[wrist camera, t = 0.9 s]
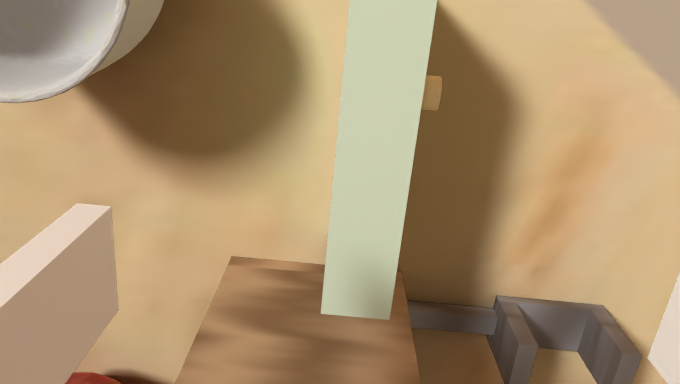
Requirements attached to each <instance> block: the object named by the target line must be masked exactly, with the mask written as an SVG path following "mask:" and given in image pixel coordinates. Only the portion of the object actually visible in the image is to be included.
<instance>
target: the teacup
mask: <svg viewBox="0 0 680 384" xmlns="http://www.w3.org/2000/svg"><path fill="white" fill-rule="evenodd" d="M163 3H164V0H0V102H3V103H23V102H33V101H39V100H43V99H47V98H51V97H53V96H56V95H59V94H61V93H64V92H66V91H68V90H70V89H71V88H73V87H75V86H77V85H79V84H80V83H81V82H82V81H84V80H85V79H87V78H88V77H89V76H90V75H92V74H94V73H96V72H98V71H100V70H102V69H104V68H106V67H107V66H109V65H111V64H112V63H114V62H116V61H117V60H119V59H120V58H122V57H124V56H125V55H126V54H127V53H129V52H130V51H131V50H132V49H133V48H135V47H136V46H137V45H138V44H139V43H140V42H141V41H142V40H143V38H144V37H145V36H146V35H147V33H148V32H149V31H150V30H151V28H152V26H153V24H154V23H155V21H156V19H157V18H158V15H159V13H160V11H161V9H162V6H163Z"/></svg>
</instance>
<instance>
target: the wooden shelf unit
mask: <svg viewBox="0 0 680 384" xmlns="http://www.w3.org/2000/svg"><path fill="white" fill-rule="evenodd" d="M324 272H325V265H320V264H309V263H298V262H287V261H276V260H265V259H255V258H244V257H233V256H232V257H231V259H230V262H229V264H228V266H227V268H226V271H225V273H224V275H223V277H222V279H221V282H220V284H219V286H218V288H217V291H216V293H215V295H214V297H213V300H212V302H211V304H210V306H209V309H208V311H207V313H206V315H205V318H204V320H203V322H202V324H201V326H200V329H199V331H198V333H197V335H196V338H195V340H194V342H193V344H192V347H191V349H190V351H189V353H188V356H187V358H186V360H185V362H184V365H183V367H182V369H181V371H180V373H179V376H178V378H177V380H176V382H175V384H421V381H420V375H419V369H418V363H417V357H416V351H415V346H414V340H413V334H412V328H421V329H432V330H443V331H454V332H465V333H476V334H487V339H488V342H489V344H490V347H491V350H492V352H493V355H494V358H495V360H496V363H497V365H498V368H499V371H500V373H501V376H502V379H503V381H504V384H528V382H529V378H530V375H531V371H532V367H533V364H534V360H535V357H536V353H537V349H538V348H546V349H557V350H569V351H577V352H578V353H579V355H580V356H581V358H582V360H583V361H584V363H585V365H586V366H587V368H588V369H589V371H590V373H591V374H592V376H593V378H594V379H595V381H596V382H597V384H632V382H633V379H634V376H635V374H636V371H637V368H638V365H639V363H640V360H641V357H642V355H641V353H640V352H639V351H638V350H637V348H636V347H635V346H634V344H633V343H632V342H631V341H630V339H629V338H628V337H627V336H626V334H625V333H624V332H623V330H622V329H621V328H620V327H619V325H618V324H617V323H616V322H615V320H614V319H613V318H612V316H611V315H610V314H609V313H608V311H607V310H606V309H605V307H604V306H603V305H595V304H584V303H573V302H562V301H551V300H540V299H529V298H518V297H507V296H496V299H495V304H494V308H484V307H473V306H462V305H451V304H440V303H429V302H418V301H407V299H406V293H405V288H404V282H403V276H402V272H397V273H396V280H395V286H394V293H393V300H392V306H391V313H390V320H384V319H373V318H362V317H351V316H340V315H329V314H321V305H322V294H323V283H324Z"/></svg>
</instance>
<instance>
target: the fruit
mask: <svg viewBox="0 0 680 384" xmlns="http://www.w3.org/2000/svg"><path fill="white" fill-rule="evenodd" d="M65 384H121V383H120V382H118V381H117V380H115V379H112V378H109V377H106V376H103V375H100V374H96V373H72V375H71V376H70V377H69V379H68V380H67V382H66V383H65Z"/></svg>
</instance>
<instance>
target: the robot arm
mask: <svg viewBox="0 0 680 384" xmlns="http://www.w3.org/2000/svg"><path fill="white" fill-rule="evenodd" d="M118 310H119V309H118V295H117V281H116V267H115V253H114V239H113V224H112V210H111V206H100V205H90V204H79V203H77V204H76V205H75V206H73V207H72V208H71V209H69V210H68V211H67V212H66V213H64V214H63V215H62V216H61V217H59V218H58V219H57V220H56V221H54V222H53V223H52V224H50V225H49V226H48V227H47V228H45V229H44V230H43V231H42V232H40V233H39V234H38V235H36V236H35V237H34V238H33V239H31V240H30V241H29V242H28V243H26V244H25V245H24V246H23V247H21V248H20V249H19V250H17V251H16V252H15V253H14V254H12V255H11V256H10V257H9V258H7V259H6V260H5V261H4V262H2V263H1V264H0V384H65V383H66V382H67V380H68V379H69V377H70V376H71V375H72V373H73V372H74V370H75V369H76V368H77V366H78V365H79V364H80V362H81V361H82V359H83V358H84V357H85V355H86V354H87V353H88V351H89V350H90V348H91V347H92V346H93V344H94V343H95V341H96V340H97V339H98V337H99V336H100V335H101V333H102V332H103V330H104V329H105V328H106V326H107V325H108V323H109V322H110V321H111V319H112V318H113V317H114V315H115V314H116V312H117V311H118ZM648 359H649V361H650V362H651V363H652V365H653V366H654V367H655V368H656V370H657V371H658V372H659V373H660V375H661V376H662V377H663V378H664V380H665V381H666V382H667V383H668V384H680V273H679V276H678V279H677V281H676V284H675V287H674V289H673V292H672V294H671V297H670V300H669V302H668V305H667V308H666V310H665V313H664V316H663V318H662V321H661V324H660V326H659V329H658V332H657V334H656V337H655V340H654V342H653V345H652V348H651V350H650V353H649V356H648Z"/></svg>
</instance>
